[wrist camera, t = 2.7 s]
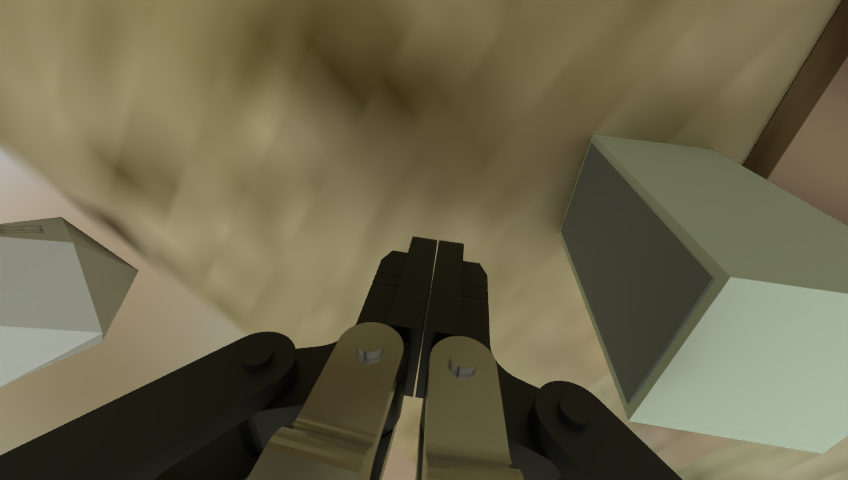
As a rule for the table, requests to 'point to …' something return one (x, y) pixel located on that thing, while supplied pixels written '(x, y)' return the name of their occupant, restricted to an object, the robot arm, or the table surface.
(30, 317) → the die
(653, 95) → the table surface
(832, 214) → the board
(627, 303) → the sage block
